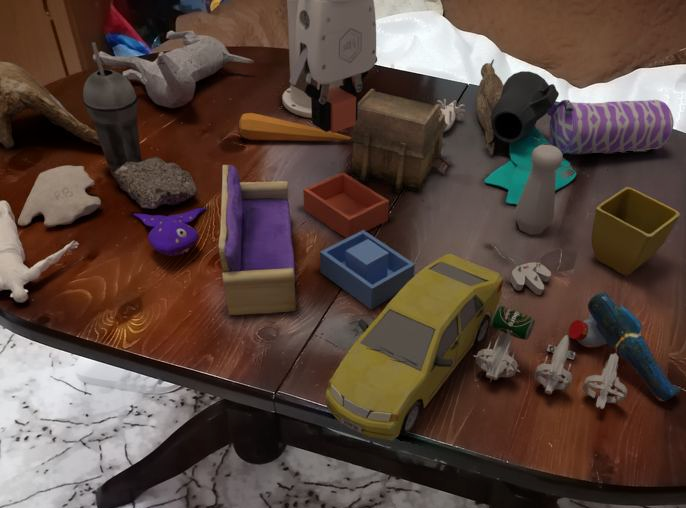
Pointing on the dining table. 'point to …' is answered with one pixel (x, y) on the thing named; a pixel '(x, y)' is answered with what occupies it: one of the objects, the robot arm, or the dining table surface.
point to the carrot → (282, 130)
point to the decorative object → (60, 197)
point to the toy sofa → (256, 246)
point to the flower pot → (630, 229)
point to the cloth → (523, 167)
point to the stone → (155, 182)
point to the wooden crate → (397, 141)
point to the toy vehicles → (552, 370)
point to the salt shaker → (539, 191)
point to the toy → (171, 232)
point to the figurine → (19, 257)
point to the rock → (33, 104)
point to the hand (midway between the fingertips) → (334, 121)
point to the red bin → (345, 205)
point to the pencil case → (609, 126)
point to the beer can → (512, 323)
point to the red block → (341, 109)
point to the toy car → (413, 347)
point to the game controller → (529, 276)
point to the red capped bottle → (586, 333)
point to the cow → (450, 112)
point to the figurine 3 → (629, 343)
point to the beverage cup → (113, 114)
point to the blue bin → (355, 284)
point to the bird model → (488, 101)
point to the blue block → (368, 261)
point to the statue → (176, 67)
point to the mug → (521, 105)
